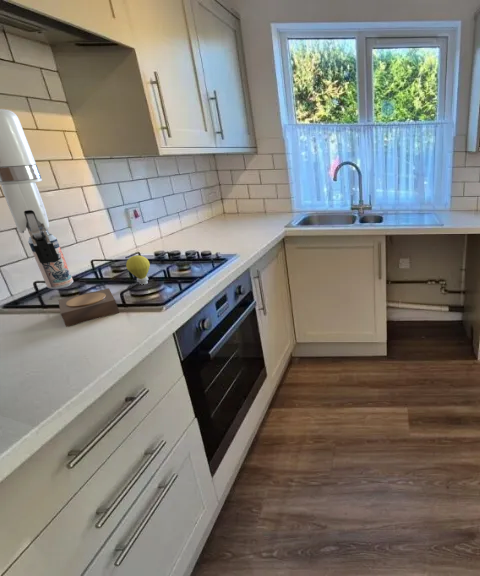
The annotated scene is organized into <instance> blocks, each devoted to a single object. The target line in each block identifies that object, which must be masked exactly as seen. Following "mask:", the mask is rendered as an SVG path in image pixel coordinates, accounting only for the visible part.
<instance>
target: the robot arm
mask: <svg viewBox="0 0 480 576" xmlns="http://www.w3.org/2000/svg"><path fill="white" fill-rule="evenodd" d="M38 182H43V178H42V175H41V172H40V170H39V167H38V164H37V163H36V160H35V158H34V155H33V153H32V150H31V147H30V144H29V142H28V139H27V136H26V134H25V131H24V129H23V126H22V123H21V120H20V118H19V117H18V115H17V114H16V113H15V111H12V110H10V109H7V108H6V109H5V108H0V186H1V189H2V192H3V196H4V199H5V201H6V204H7V207H8V209H9V212H10V214H11V216H12V218H13V221H14V224H15V226H16V229H17V231H18V233H20V234H24V233H25V231H27V232H28V234H29V237H31V239H32V242H33V244H34V246H33V247H34V249H35V252H36V254H37V257H38V259H39V261H40V263H42V264H43V263H49V262H55V261H58V260H59V257H58V255H57V252H56V250H55V247H54V245H53V243H51V242H50V239H49V236H48V234H50V232H49V228H50V222H49V217H48V212H47V210H46V207H45V204H44V201H43V199H42V195H41V193H40V191H39V187H38V185H37V183H38Z"/></svg>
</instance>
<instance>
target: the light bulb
mask: <svg viewBox="0 0 480 576" xmlns="http://www.w3.org/2000/svg"><path fill="white" fill-rule="evenodd" d="M125 263H126V264H125V266H126V269H127V271H128V272H129V273H130V274H131V275H133V276H134V277H136V282H137V283H139V285H140V284H141V285H140V286H144V285H147V284H148V281H149V277H148V276H147V275H148V273H149V270H150V266H151V263H150V261H149V259H148V258H147V257H145V256H143V255H139V254H138V255H133V256H131V257H129V258H128V259H127V260H126V262H125ZM143 284H144V285H143Z"/></svg>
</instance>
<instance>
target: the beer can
mask: <svg viewBox="0 0 480 576" xmlns="http://www.w3.org/2000/svg"><path fill="white" fill-rule="evenodd" d="M48 236H49V239H50V242H51V243H53V245H54V247H55V250H56V252H57V255H58V257H59V260H58V261H55V262H49V263H43V264H42V263H40V261H39V259H38V257H37V254H36V252H35V249H34V247H33V246H34V244H33V242H32V239H31V237H30V236H29V237H28V241H27V243H28V245H29V247H30V250H31V252H32V255H33V256H34V259H35V262H36V264H37V266H38V269H39V272H40V273H41V275H42V278H43V280H44V283H45V285H46V288H48V289H52V290H60V289H64V288H67V287H69V286H71V285H72V284H73V283H74V279H73V276H72V274H71V272H70V268H69V265H68V264H67V262H66V259H65V256H64V254H63V251H62V249H61V246H60V243H59V241H58V238H57V237H56V236H55V235H53V234H52V233H49V234H48Z"/></svg>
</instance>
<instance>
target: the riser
mask: <svg viewBox="0 0 480 576" xmlns="http://www.w3.org/2000/svg"><path fill="white" fill-rule="evenodd" d="M58 307H59V311H60V312H59V313H60V316H61V318H62V321H63V323H64V325H65V327H66V328H67V327H71V326H75V325H78V324H79V325H80V324H83V323H85V322H88V321H89V322H90V321H93V320H97V319H100V318H105V317H109V316H111V315H116V314H119V313H120V309H119V307H118V304H117V301H116V299H115V296H114V295H113V293H112V291H111V289H110V288H104V289H100V290H96V291H91V292H87V293H82V294H79V295H78V294H77V295H75V296H74V295H73V296H69V297H65V298H62V299H58Z"/></svg>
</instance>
